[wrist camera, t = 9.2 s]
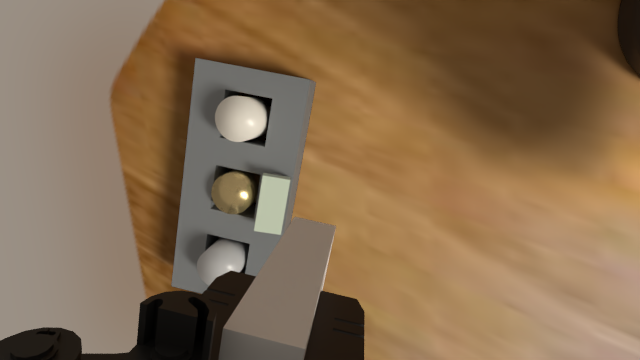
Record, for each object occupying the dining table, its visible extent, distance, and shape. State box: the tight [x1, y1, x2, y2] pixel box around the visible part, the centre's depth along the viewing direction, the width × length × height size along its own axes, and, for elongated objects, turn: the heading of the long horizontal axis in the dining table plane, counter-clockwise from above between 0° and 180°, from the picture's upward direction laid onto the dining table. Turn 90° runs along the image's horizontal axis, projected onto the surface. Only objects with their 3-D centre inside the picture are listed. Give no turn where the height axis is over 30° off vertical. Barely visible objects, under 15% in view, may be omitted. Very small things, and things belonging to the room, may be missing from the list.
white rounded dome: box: [197, 237, 250, 285], centre depth 41 cm, size 4×4×5 cm
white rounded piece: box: [215, 96, 271, 142], centre depth 37 cm, size 4×4×5 cm
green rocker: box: [254, 173, 290, 235], centre depth 37 cm, size 6×3×2 cm, turn 169°
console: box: [172, 58, 316, 294], centre depth 41 cm, size 26×12×4 cm, turn 169°
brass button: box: [211, 169, 260, 214], centre depth 40 cm, size 4×4×5 cm
